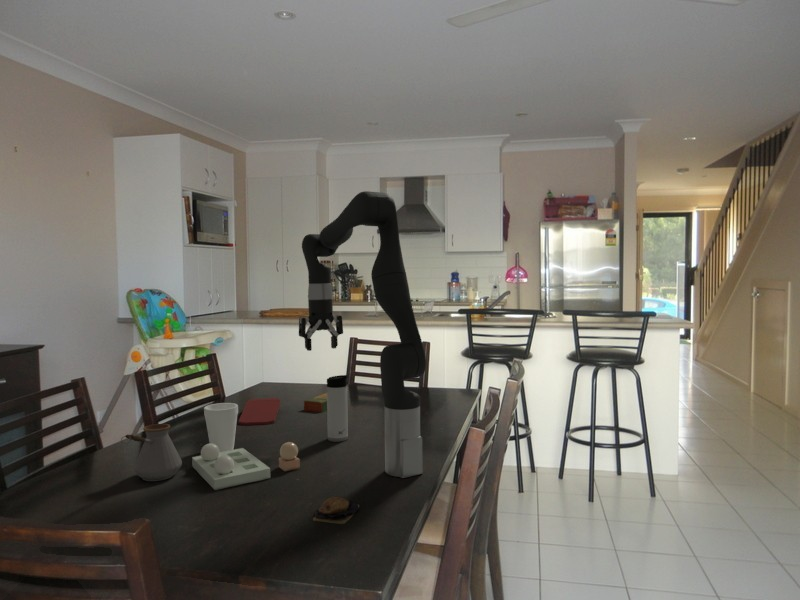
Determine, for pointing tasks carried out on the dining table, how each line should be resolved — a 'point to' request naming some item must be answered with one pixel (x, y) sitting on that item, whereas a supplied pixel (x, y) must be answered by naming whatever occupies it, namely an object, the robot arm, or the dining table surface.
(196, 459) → the egg tray
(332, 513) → the sandwich
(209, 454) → the white egg
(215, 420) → the foam cup
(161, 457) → the coffee pot
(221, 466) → the white egg
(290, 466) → the egg cup
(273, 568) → the dining table surface
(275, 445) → the dining table surface
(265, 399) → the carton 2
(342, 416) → the travel mug
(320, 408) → the carton
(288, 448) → the brown egg
